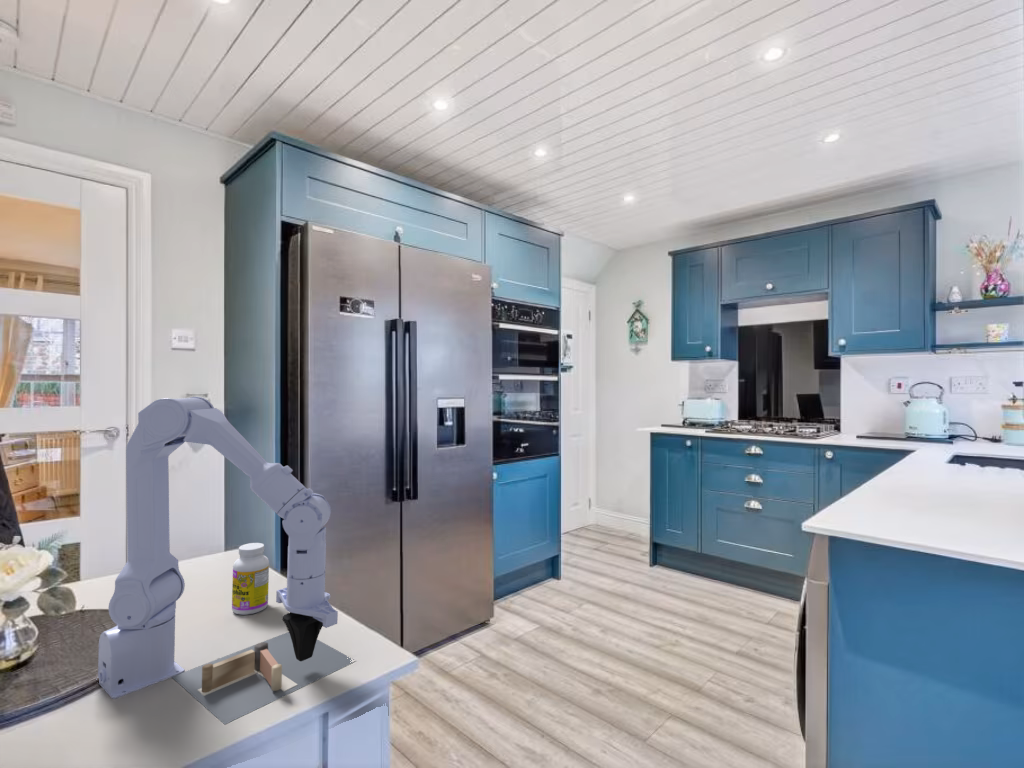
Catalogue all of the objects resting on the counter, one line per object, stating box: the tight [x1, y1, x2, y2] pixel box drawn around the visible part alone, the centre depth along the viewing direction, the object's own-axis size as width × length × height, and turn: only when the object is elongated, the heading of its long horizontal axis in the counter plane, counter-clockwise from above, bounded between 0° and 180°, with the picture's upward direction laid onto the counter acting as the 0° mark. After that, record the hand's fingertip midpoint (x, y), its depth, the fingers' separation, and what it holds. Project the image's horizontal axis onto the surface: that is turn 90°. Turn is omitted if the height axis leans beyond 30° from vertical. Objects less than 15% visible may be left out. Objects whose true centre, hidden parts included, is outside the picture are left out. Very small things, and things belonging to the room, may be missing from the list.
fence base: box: [202, 641, 268, 692], centre depth 81 cm, size 10×2×4 cm, turn 143°
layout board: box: [171, 631, 355, 725], centre depth 84 cm, size 21×18×1 cm
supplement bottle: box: [231, 542, 270, 616], centre depth 107 cm, size 7×7×13 cm
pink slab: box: [260, 649, 282, 691], centre depth 81 cm, size 8×1×3 cm, turn 41°
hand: (304, 657), depth 84 cm, fingers closed
